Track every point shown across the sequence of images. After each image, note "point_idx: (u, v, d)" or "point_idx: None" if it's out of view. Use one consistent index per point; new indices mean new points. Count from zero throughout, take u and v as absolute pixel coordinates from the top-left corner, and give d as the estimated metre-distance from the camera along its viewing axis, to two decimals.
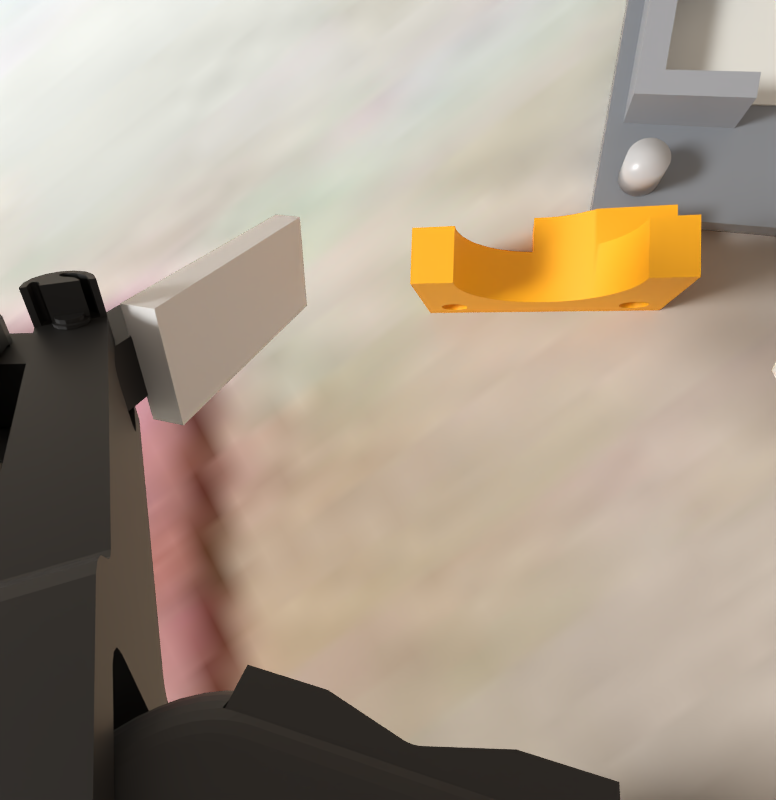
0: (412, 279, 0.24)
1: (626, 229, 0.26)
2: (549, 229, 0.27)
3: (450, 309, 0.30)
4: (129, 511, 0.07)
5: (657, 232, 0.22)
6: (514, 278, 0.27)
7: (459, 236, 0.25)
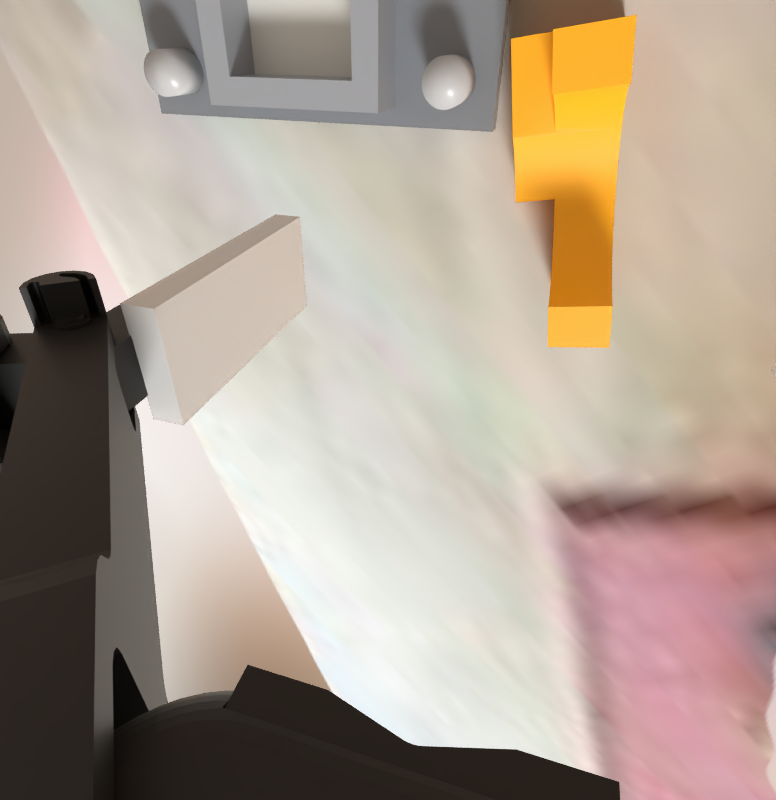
0: (604, 345, 0.24)
1: (539, 98, 0.22)
2: (529, 184, 0.25)
3: None
4: (129, 511, 0.07)
5: (572, 81, 0.19)
6: (585, 219, 0.25)
7: (552, 295, 0.24)
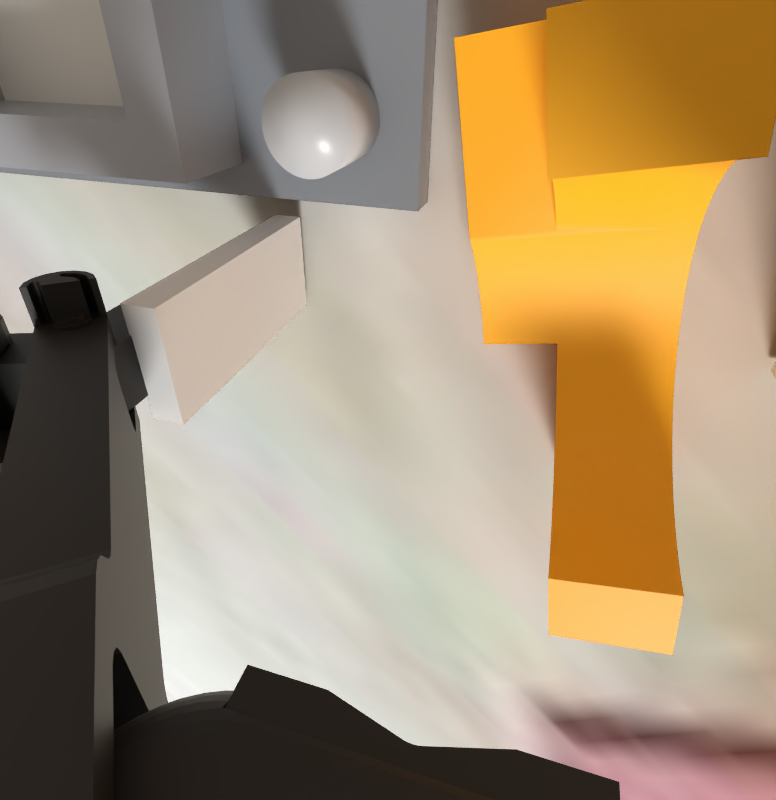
0: (663, 651, 0.12)
1: (520, 164, 0.10)
2: (508, 315, 0.13)
3: None
4: (129, 511, 0.07)
5: (600, 149, 0.07)
6: (618, 382, 0.13)
7: (557, 541, 0.12)
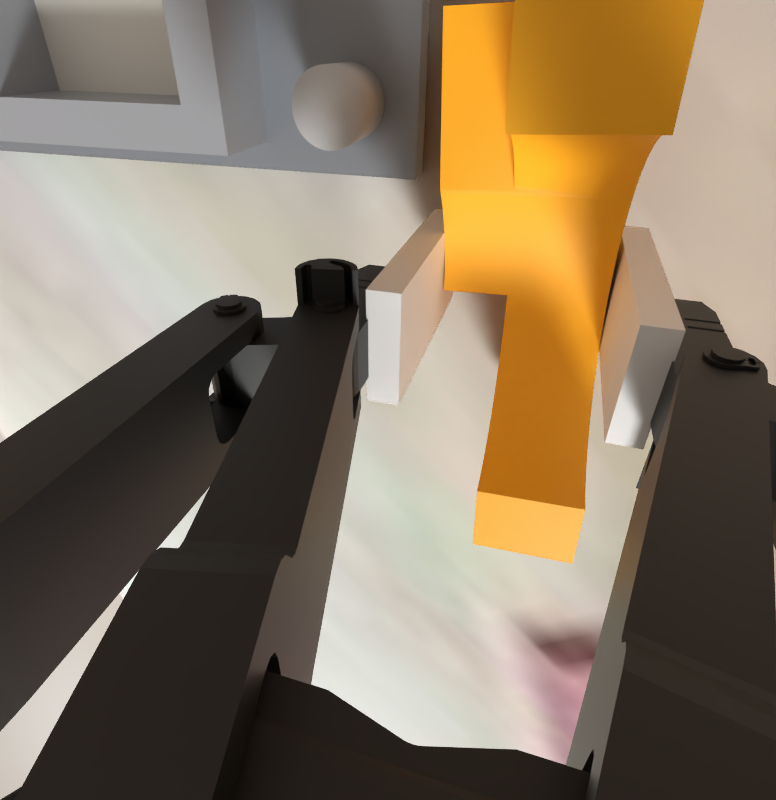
0: (565, 559, 0.14)
1: (489, 127, 0.12)
2: (467, 265, 0.15)
3: None
4: (326, 503, 0.07)
5: (548, 114, 0.09)
6: (555, 333, 0.15)
7: (488, 463, 0.14)
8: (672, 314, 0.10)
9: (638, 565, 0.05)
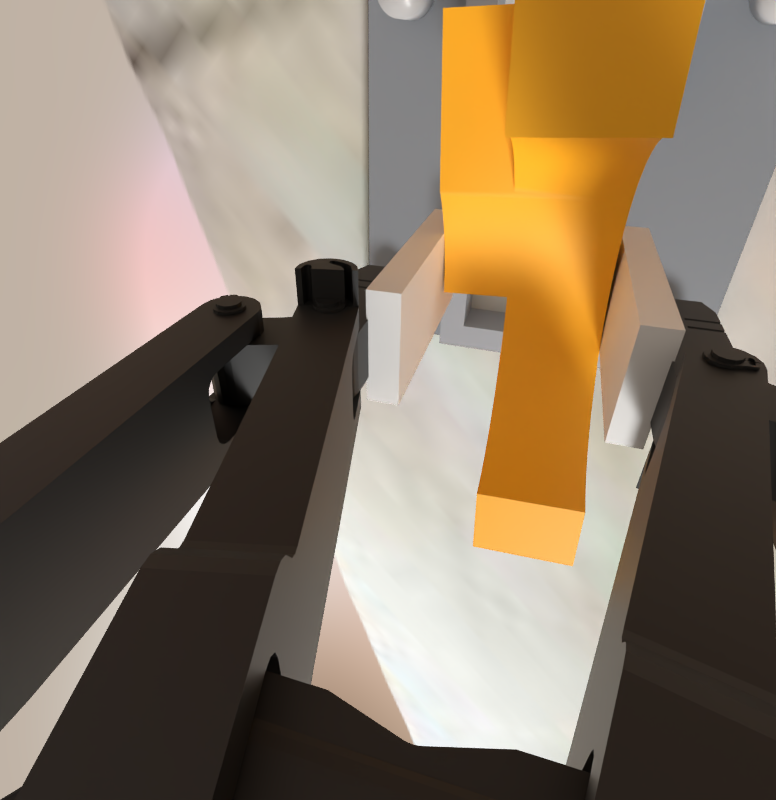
0: (565, 562, 0.14)
1: (489, 129, 0.12)
2: (467, 267, 0.15)
3: None
4: (326, 503, 0.07)
5: (548, 116, 0.09)
6: (555, 335, 0.15)
7: (488, 466, 0.14)
8: (672, 314, 0.10)
9: (638, 565, 0.05)
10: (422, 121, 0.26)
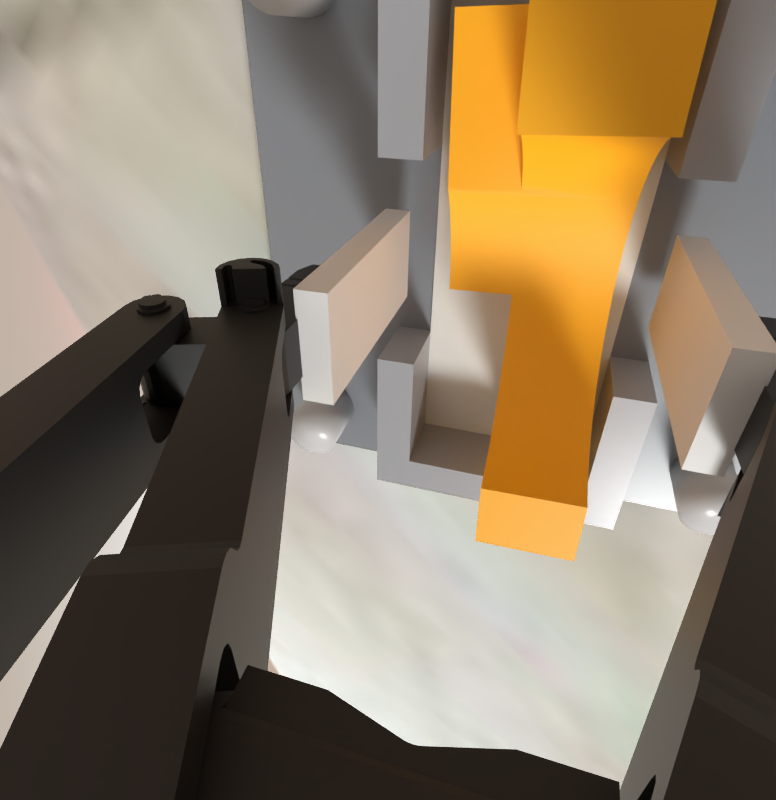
0: (566, 557, 0.14)
1: (498, 128, 0.12)
2: (472, 265, 0.15)
3: None
4: (267, 498, 0.08)
5: (559, 115, 0.09)
6: (559, 333, 0.15)
7: (491, 461, 0.14)
8: (762, 335, 0.09)
9: (718, 593, 0.05)
10: (337, 171, 0.17)
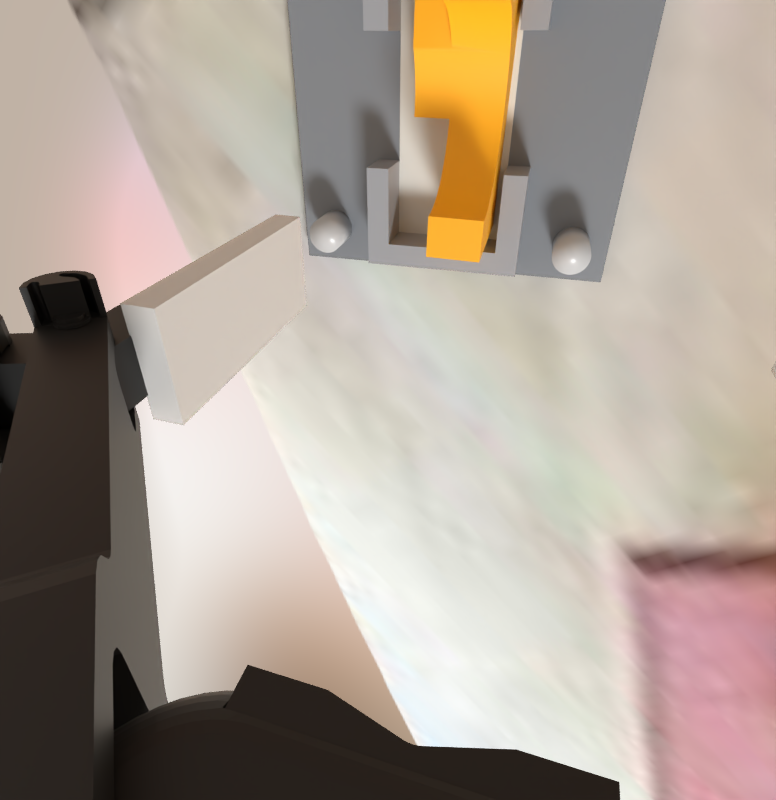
0: (475, 260, 0.26)
1: (438, 11, 0.23)
2: (427, 100, 0.26)
3: (493, 206, 0.29)
4: (129, 511, 0.07)
5: None
6: (475, 142, 0.26)
7: (435, 208, 0.26)
8: None
9: None
10: (339, 53, 0.28)
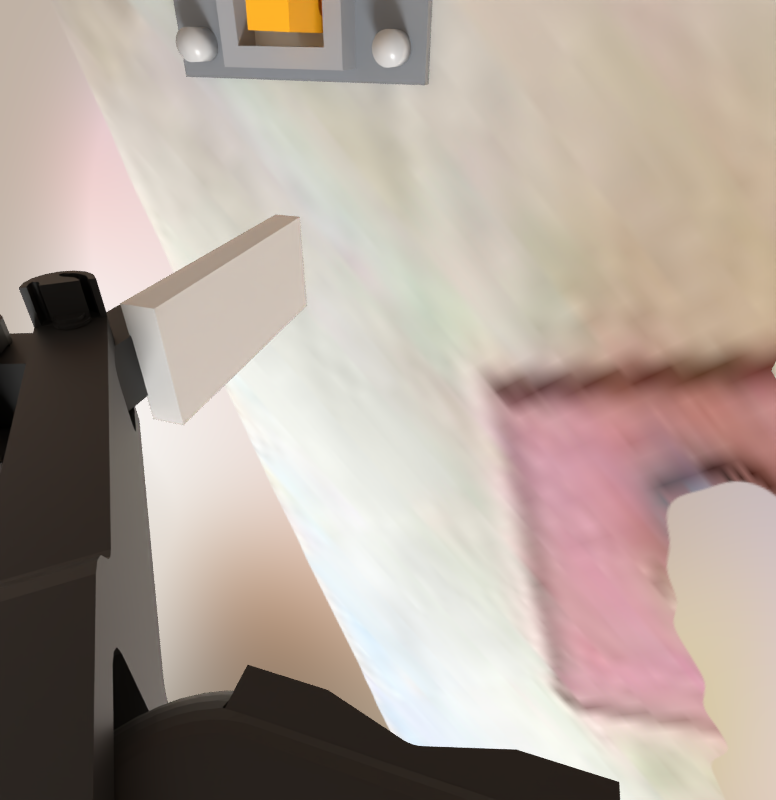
0: (286, 30, 0.30)
1: None
2: None
3: None
4: (129, 511, 0.07)
5: None
6: None
7: None
8: None
9: None
10: None
